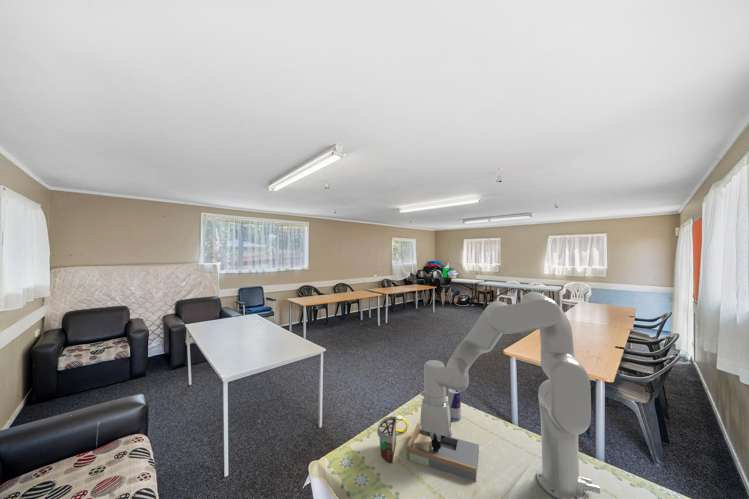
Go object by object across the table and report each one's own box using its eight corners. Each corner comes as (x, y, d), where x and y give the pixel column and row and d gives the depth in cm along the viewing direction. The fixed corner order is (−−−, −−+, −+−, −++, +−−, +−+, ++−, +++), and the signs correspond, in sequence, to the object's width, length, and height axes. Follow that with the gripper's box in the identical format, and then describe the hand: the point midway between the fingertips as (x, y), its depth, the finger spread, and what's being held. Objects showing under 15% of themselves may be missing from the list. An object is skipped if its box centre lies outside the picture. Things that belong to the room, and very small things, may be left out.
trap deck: (478, 451, 97) (478, 438, 97) (476, 481, 84) (475, 467, 84) (417, 434, 107) (417, 423, 107) (406, 459, 94) (406, 446, 94)
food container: (380, 439, 104) (380, 414, 104) (396, 441, 103) (396, 415, 103) (374, 464, 92) (374, 435, 92) (392, 466, 91) (391, 437, 91)
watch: (393, 433, 108) (391, 418, 108) (394, 428, 111) (393, 414, 111) (407, 434, 106) (406, 419, 107) (408, 430, 109) (407, 415, 109)
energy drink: (461, 422, 114) (461, 394, 114) (448, 420, 115) (448, 392, 115) (460, 414, 119) (459, 387, 119) (447, 413, 120) (447, 386, 120)
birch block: (432, 446, 96) (432, 437, 97) (428, 455, 92) (428, 446, 92) (419, 441, 99) (419, 433, 99) (415, 450, 94) (415, 442, 94)
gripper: (411, 398, 94) (412, 450, 93) (455, 407, 87) (456, 464, 87) (417, 388, 100) (418, 437, 100) (458, 396, 94) (459, 448, 94)
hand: (436, 449), depth 94 cm, fingers closed
